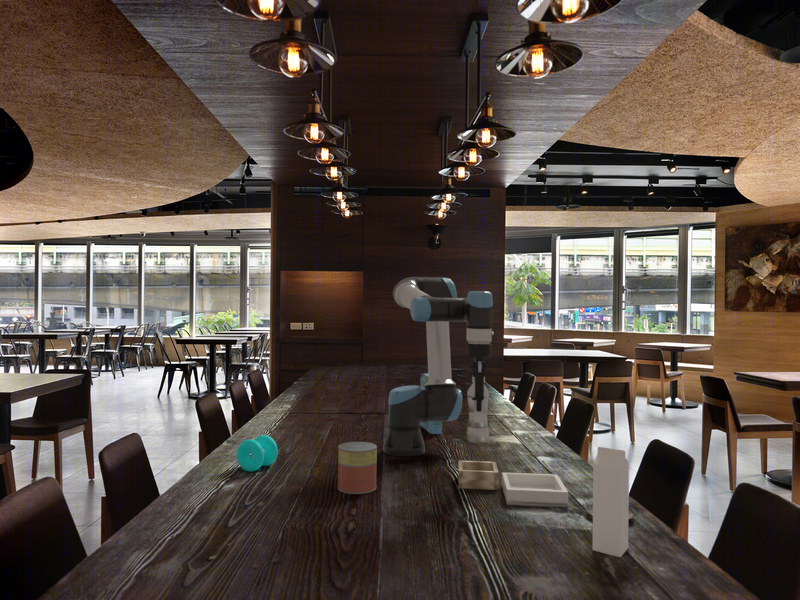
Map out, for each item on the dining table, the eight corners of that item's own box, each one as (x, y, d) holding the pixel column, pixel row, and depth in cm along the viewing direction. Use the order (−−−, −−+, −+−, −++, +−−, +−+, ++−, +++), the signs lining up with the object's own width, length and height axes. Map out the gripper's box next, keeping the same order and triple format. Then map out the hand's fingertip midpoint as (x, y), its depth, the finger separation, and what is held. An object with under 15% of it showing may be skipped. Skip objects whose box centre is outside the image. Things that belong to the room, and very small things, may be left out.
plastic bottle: (488, 446, 169) (489, 377, 169) (465, 444, 170) (466, 376, 170) (489, 440, 175) (490, 375, 175) (467, 439, 176) (468, 374, 176)
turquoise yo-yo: (279, 466, 187) (279, 435, 187) (259, 474, 178) (260, 442, 178) (254, 462, 191) (255, 432, 191) (234, 470, 182) (234, 438, 182)
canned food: (382, 484, 170) (382, 443, 170) (367, 496, 159) (368, 452, 159) (347, 480, 173) (347, 440, 174) (330, 491, 163) (331, 448, 163)
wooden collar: (458, 488, 167) (458, 470, 167) (458, 476, 178) (458, 460, 178) (498, 489, 166) (498, 472, 166) (495, 478, 177) (495, 461, 177)
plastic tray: (506, 504, 153) (507, 489, 153) (501, 486, 169) (502, 472, 169) (568, 507, 152) (568, 492, 152) (557, 488, 168) (557, 474, 168)
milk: (600, 541, 130) (601, 443, 130) (628, 548, 126) (629, 447, 127) (592, 550, 125) (592, 448, 125) (620, 558, 121) (621, 453, 122)
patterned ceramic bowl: (610, 530, 137) (610, 499, 137) (574, 514, 148) (574, 485, 148) (645, 522, 143) (645, 492, 143) (608, 507, 153) (608, 479, 153)
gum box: (419, 425, 255) (419, 373, 255) (430, 424, 256) (430, 373, 257) (431, 434, 236) (431, 379, 236) (442, 434, 237) (443, 378, 238)
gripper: (494, 345, 163) (492, 427, 163) (489, 340, 182) (488, 413, 182) (467, 344, 163) (466, 426, 163) (465, 340, 182) (464, 413, 182)
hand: (478, 419), depth 172 cm, fingers closed on plastic bottle, 6 cm apart
